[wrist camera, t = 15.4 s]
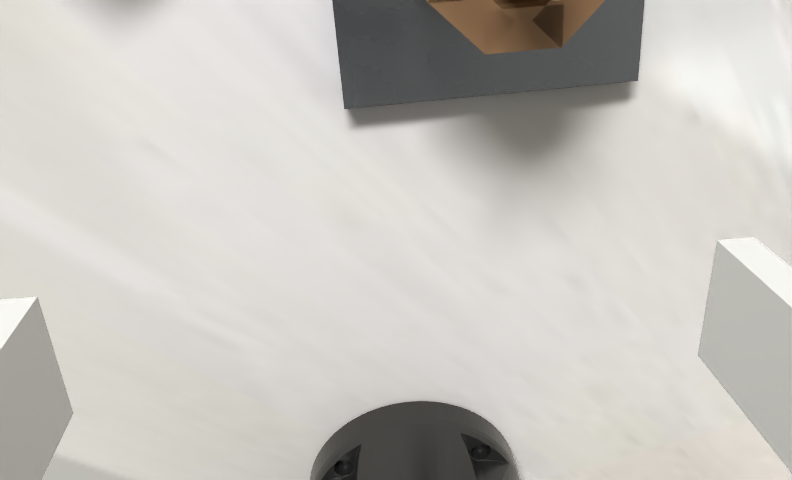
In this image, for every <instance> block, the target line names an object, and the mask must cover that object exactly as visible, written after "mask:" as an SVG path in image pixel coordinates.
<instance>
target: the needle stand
mask: <svg viewBox="0 0 792 480" xmlns="http://www.w3.org/2000/svg"><path fill="white" fill-rule="evenodd" d="M332 1H333V10H334V19H335V28H336V37H337V46H338V55H339V64H340V73H341V82H342V91H343V100H344V109H350V108H360V107H371V106H381V105H391V104H402V103H412V102H422V101H433V100H443V99H454V98H464V97H474V96H485V95H495V94H505V93H516V92H526V91H536V90H547V89H557V88H568V87H578V86H588V85H599V84H609V83H619V82H630V81H638V73H639V60H640V48H641V35H642V23H643V11H644V0H605V1H604V2H603V3H602V4H601V5H600V6H599V8H598V9H597V10H596V11H595V12H594V13H593V14H592V15H591V16H590V17H589V18H588V19H587V20H586V22H585V23H584V24H583V25H582V26H581V27H580V28H579V29H578V30H577V31H576V32H575V33H574V34H573V36H572V37H571V38H570V39H569V40H568V41H567V42H566V43H565V44H564V45H563V47H561V48H550V49H539V50H528V51H517V52H506V53H495V54H486V55H485V54H483V52H482V51H481V50H480V49H479V48H478V47H476V46H475V45H474V44H473V43H472V42H471V41H470V40H469V39H468V38H467V37H465V36H464V35H463V34H462V33H461V32H460V31H459V30H458V29H457V28H456V27H454V26H453V25H452V24H451V23H450V22H449V21H448V20H447V19H446V18H445V17H443V16H442V15H441V14H440V13H439V12H438V11H437V10H436V9H435V8H434V7H432V6H431V5H430V4H428V3H427V1H426V0H332ZM555 1H556V0H555Z"/></svg>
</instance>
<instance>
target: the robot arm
mask: <svg viewBox="0 0 792 480" xmlns="http://www.w3.org/2000/svg"><path fill="white" fill-rule="evenodd" d="M698 356H699V357H700V359H701V360H702V361H703V362H704V364H705V365H706V366H707V367H708V369H709V370H710V371H711V372H712V374H713V375H714V376H715V378H716V379H717V380H718V381H719V383H720V384H721V385H722V386H723V388H724V389H725V390H726V391H727V393H728V394H729V395H730V396H731V398H732V399H733V400H734V401H735V403H736V404H737V405H738V406H739V408H740V409H741V410H742V411H743V413H744V414H745V415H746V416H747V418H748V419H749V420H750V421H751V423H752V424H753V425H754V426H755V428H756V429H757V430H758V431H759V433H760V434H761V435H762V436H763V438H764V439H765V440H766V441H767V443H768V444H769V445H770V447H771V448H772V449H773V450H774V452H775V453H776V454H777V455H778V457H779V458H780V459H781V460H782V462H783V463H784V464H785V465H786V467H787V468H788V469H789V470H790V472H791V473H792V267H790V266H789V265H788V264H787V263H786V262H784V261H783V260H782V259H781V258H779V257H778V256H777V255H776V254H774V253H773V252H772V251H771V250H770V249H768V248H767V247H766V246H765V245H763V244H762V243H761V242H760V241H759V240H757V239H756V238H755V237H750V238H737V239H725V240H717V243H716V249H715V255H714V261H713V267H712V273H711V279H710V285H709V291H708V297H707V303H706V309H705V315H704V321H703V327H702V333H701V339H700V345H699V351H698ZM72 415H73V411H72V408H71V404H70V401H69V398H68V395H67V391H66V388H65V385H64V382H63V378H62V375H61V372H60V369H59V365H58V362H57V359H56V356H55V352H54V349H53V346H52V343H51V339H50V336H49V333H48V330H47V326H46V323H45V320H44V317H43V313H42V310H41V307H40V304H39V300H38V297H28V298H16V299H4V300H0V480H42V478H43V475H44V473H45V471H46V469H47V467H48V465H49V463H50V461H51V458H52V457H53V454H54V452H55V450H56V448H57V446H58V444H59V442H60V440H61V438H62V436H63V434H64V431H65V429H66V427H67V425H68V423H69V421H70V419H71V417H72ZM310 480H519V476H518V472H517V469H516V465H515V462H514V459H513V456H512V453H511V450H510V448H509V445H508V443H507V442H506V440H505V439H504V437H503V436H502V434H501V433H500V432H499V431H498V430H497V429H496V428H495V427H494V426H493V425H492V424H491V423H489V422H488V421H487V420H485V419H484V418H482V417H481V416H479V415H477V414H475V413H473V412H471V411H469V410H466V409H464V408H461V407H458V406H454V405H450V404H445V403H439V402H427V401H416V402H404V403H398V404H393V405H388V406H384V407H381V408H378V409H375V410H372V411H370V412H367V413H365V414H363V415H361V416H359V417H357V418H355V419H354V420H352V421H350V422H349V423H347V424H346V425H344V426H343V427H342V428H340V429H339V430H338V431H337V432H336V433H335V434H334V435H333V436H332V437H331V438H330V439H329V440H328V441H327V442H326V443H325V445H324V446H323V447H322V449H321V450H320V452H319V454H318V456H317V458H316V460H315V462H314V465H313V468H312V471H311V477H310Z"/></svg>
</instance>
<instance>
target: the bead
mask: <svg viewBox="0 0 792 480" xmlns="http://www.w3.org/2000/svg"><path fill="white" fill-rule="evenodd" d="M426 1H427V3H428V4H430V5H431V6H432V7H434V8H435V9H436V10H437V11H438V12H439V13H440V14H441V15H442V16H443V17H445V18H446V19H447V20H448V21H449V22H450V23H451V24H452V25H453V26H454V27H456V28H457V29H458V30H459V31H460V32H461V33H462V34H463V35H464V36H465V37H467V38H468V39H469V40H470V41H471V42H472V43H473V44H474V45H475V46H476V47H478V48H479V49H480V50H481V51H482V52H483V54H485V55H486V54H495V53H506V52H517V51H528V50H539V49H550V48H561V47H563V45H564V44H565V43H566V42H567V41H568V40H569V39H570V38H571V37H572V36H573V34H574V33H575V32H576V31H577V30H578V29H579V28H580V27H581V26H582V25H583V24H584V23H585V22H586V20H587V19H588V18H589V17H590V16H591V15H592V14H593V13H594V12H595V11H596V10H597V9H598V8H599V6H600V5H601V4H602V3H603V2H604V1H605V0H556V1H555V0H426Z"/></svg>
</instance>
